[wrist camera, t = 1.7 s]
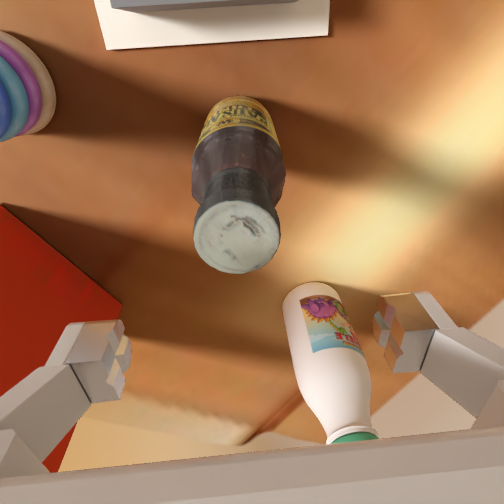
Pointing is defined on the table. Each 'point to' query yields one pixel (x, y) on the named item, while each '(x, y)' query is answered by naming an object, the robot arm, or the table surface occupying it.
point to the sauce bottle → (237, 186)
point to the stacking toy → (23, 90)
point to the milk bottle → (329, 362)
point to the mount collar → (207, 21)
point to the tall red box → (40, 307)
